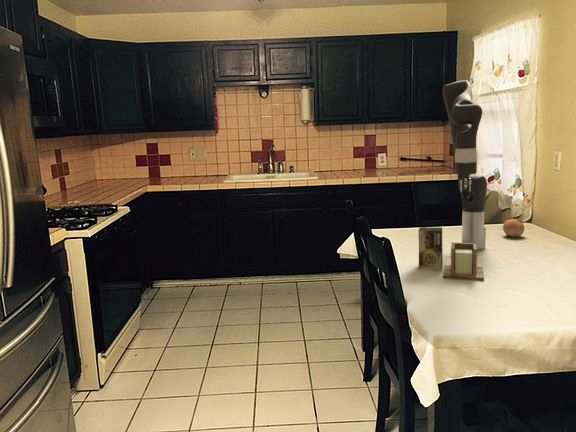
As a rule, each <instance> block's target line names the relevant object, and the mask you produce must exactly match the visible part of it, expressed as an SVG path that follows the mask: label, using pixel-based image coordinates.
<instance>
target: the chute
mask: <svg viewBox="0 0 576 432" xmlns="http://www.w3.org/2000/svg"><path fill="white" fill-rule="evenodd" d="M455 249H472V274H462V273H455ZM477 260H478V250H477V245H476V243H462V242H451V244H450V265H444V267H443V268H444V269H443V279H448V280H465V281H467V280H468V281H485V275H484V269H483V266H478V265H477V263H478V261H477Z"/></svg>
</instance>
